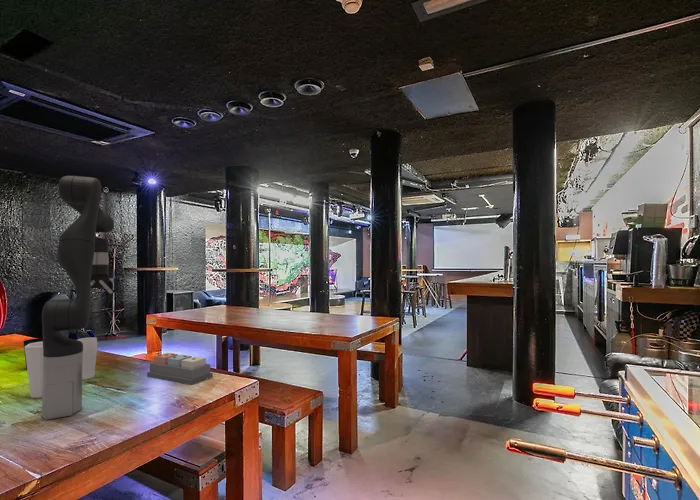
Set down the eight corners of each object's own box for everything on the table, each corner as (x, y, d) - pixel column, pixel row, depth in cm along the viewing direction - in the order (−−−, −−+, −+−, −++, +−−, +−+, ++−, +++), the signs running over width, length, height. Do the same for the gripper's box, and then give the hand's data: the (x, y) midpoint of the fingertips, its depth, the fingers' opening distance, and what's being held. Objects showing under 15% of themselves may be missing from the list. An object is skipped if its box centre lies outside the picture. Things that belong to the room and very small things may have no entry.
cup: (27, 367, 153) (27, 339, 154) (49, 364, 156) (50, 337, 157) (19, 371, 146) (20, 342, 147) (43, 369, 149) (43, 340, 150)
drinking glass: (101, 375, 140) (101, 337, 140) (86, 381, 133) (87, 341, 134) (85, 375, 140) (85, 337, 141) (70, 381, 134) (70, 340, 134)
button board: (212, 376, 137) (212, 363, 137) (191, 384, 128) (191, 370, 128) (169, 369, 147) (169, 357, 147) (147, 376, 138) (147, 363, 138)
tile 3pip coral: (178, 362, 142) (178, 353, 142) (164, 366, 137) (164, 357, 137) (167, 361, 145) (168, 352, 145) (154, 365, 139) (154, 355, 140)
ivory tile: (205, 367, 136) (205, 357, 136) (192, 371, 130) (192, 361, 131) (194, 365, 138) (194, 355, 139) (181, 369, 133) (181, 359, 133)
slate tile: (191, 365, 139) (191, 355, 139) (178, 369, 134) (178, 359, 134) (180, 363, 142) (181, 354, 142) (167, 367, 136) (167, 357, 136)
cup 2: (58, 386, 128) (59, 338, 128) (71, 391, 122) (72, 341, 123) (17, 396, 118) (19, 345, 119) (29, 402, 113) (31, 348, 113)
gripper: (74, 263, 139) (74, 305, 138) (118, 263, 147) (117, 303, 146) (76, 264, 145) (75, 304, 144) (117, 263, 153) (117, 301, 152)
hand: (96, 303), depth 145 cm, fingers open, 8 cm apart
